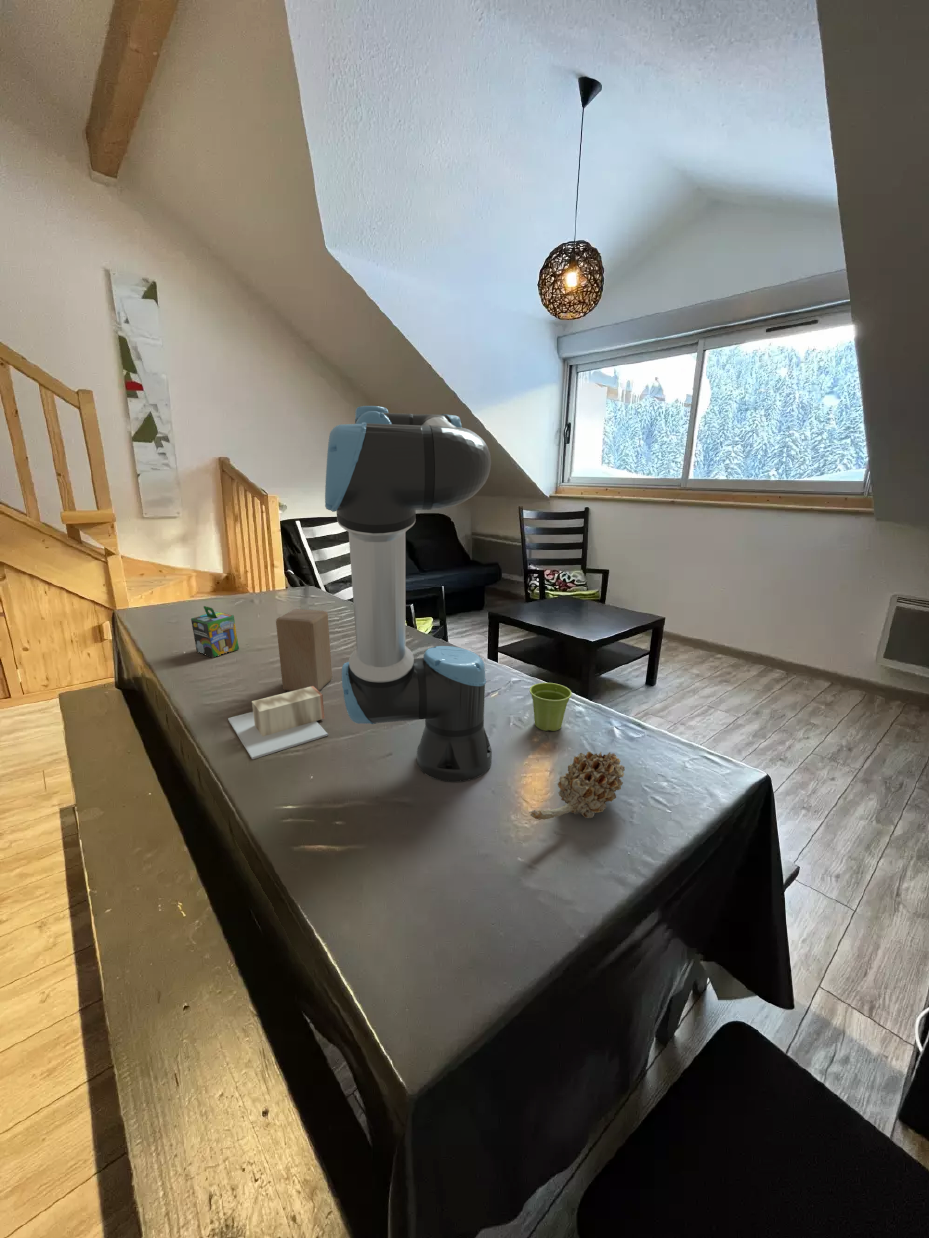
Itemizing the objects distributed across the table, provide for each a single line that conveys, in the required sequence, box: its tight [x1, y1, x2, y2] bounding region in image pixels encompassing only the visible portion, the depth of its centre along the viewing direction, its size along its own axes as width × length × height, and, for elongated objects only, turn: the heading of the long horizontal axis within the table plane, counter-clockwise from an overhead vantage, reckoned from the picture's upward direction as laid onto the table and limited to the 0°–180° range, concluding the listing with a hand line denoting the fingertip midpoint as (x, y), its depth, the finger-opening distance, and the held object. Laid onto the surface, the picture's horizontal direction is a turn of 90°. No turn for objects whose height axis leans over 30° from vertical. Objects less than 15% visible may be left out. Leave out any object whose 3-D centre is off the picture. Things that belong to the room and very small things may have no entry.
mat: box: [227, 711, 329, 760], centre depth 114 cm, size 20×16×1 cm
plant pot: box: [529, 682, 573, 732], centre depth 116 cm, size 9×9×9 cm
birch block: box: [251, 686, 325, 736], centre depth 115 cm, size 6×6×14 cm
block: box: [275, 608, 333, 692], centre depth 133 cm, size 10×10×20 cm
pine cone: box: [528, 751, 626, 821], centre depth 85 cm, size 22×10×10 cm, turn 135°
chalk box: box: [190, 605, 240, 658], centre depth 157 cm, size 9×9×15 cm
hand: (378, 577), depth 125 cm, fingers closed
